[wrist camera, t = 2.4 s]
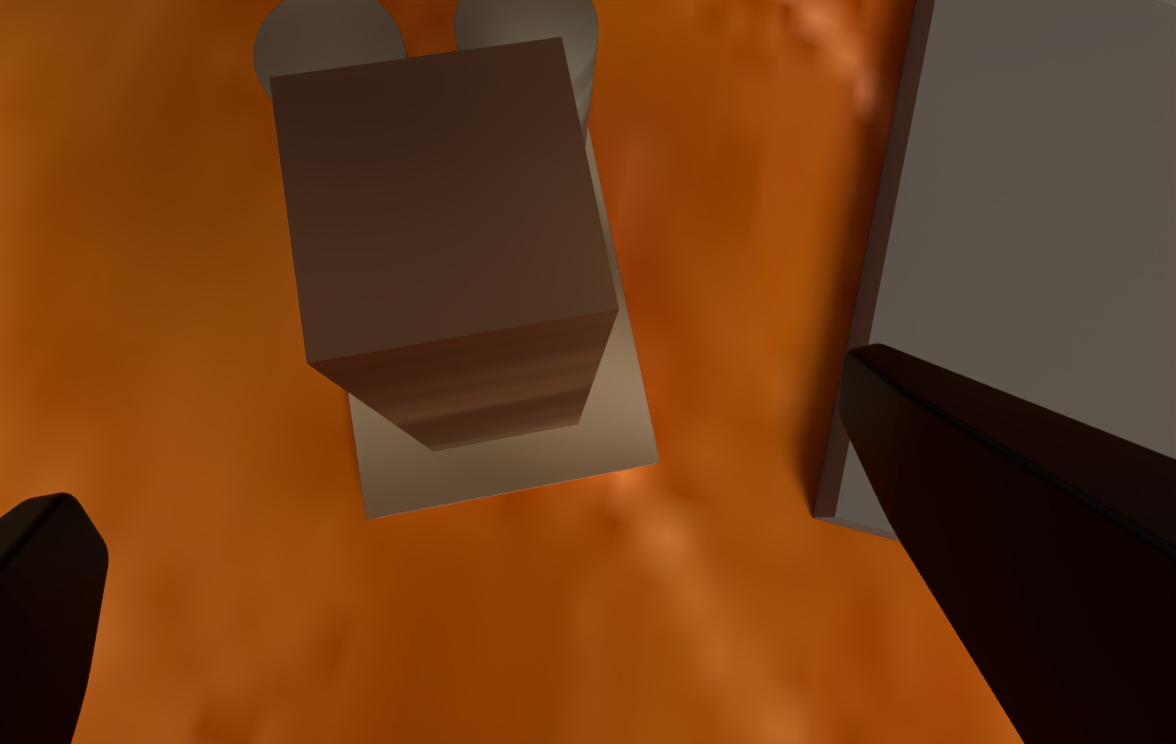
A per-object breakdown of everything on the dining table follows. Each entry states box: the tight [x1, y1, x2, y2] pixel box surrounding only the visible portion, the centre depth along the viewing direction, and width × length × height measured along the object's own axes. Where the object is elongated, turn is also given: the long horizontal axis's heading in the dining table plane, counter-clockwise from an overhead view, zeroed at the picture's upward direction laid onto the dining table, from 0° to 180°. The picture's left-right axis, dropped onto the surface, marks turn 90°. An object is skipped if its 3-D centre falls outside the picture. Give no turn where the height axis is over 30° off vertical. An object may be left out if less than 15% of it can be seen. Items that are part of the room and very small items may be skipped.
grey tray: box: [813, 0, 1176, 541], centre depth 20 cm, size 17×12×3 cm
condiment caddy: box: [254, 0, 660, 519], centre depth 15 cm, size 11×7×11 cm, turn 11°
